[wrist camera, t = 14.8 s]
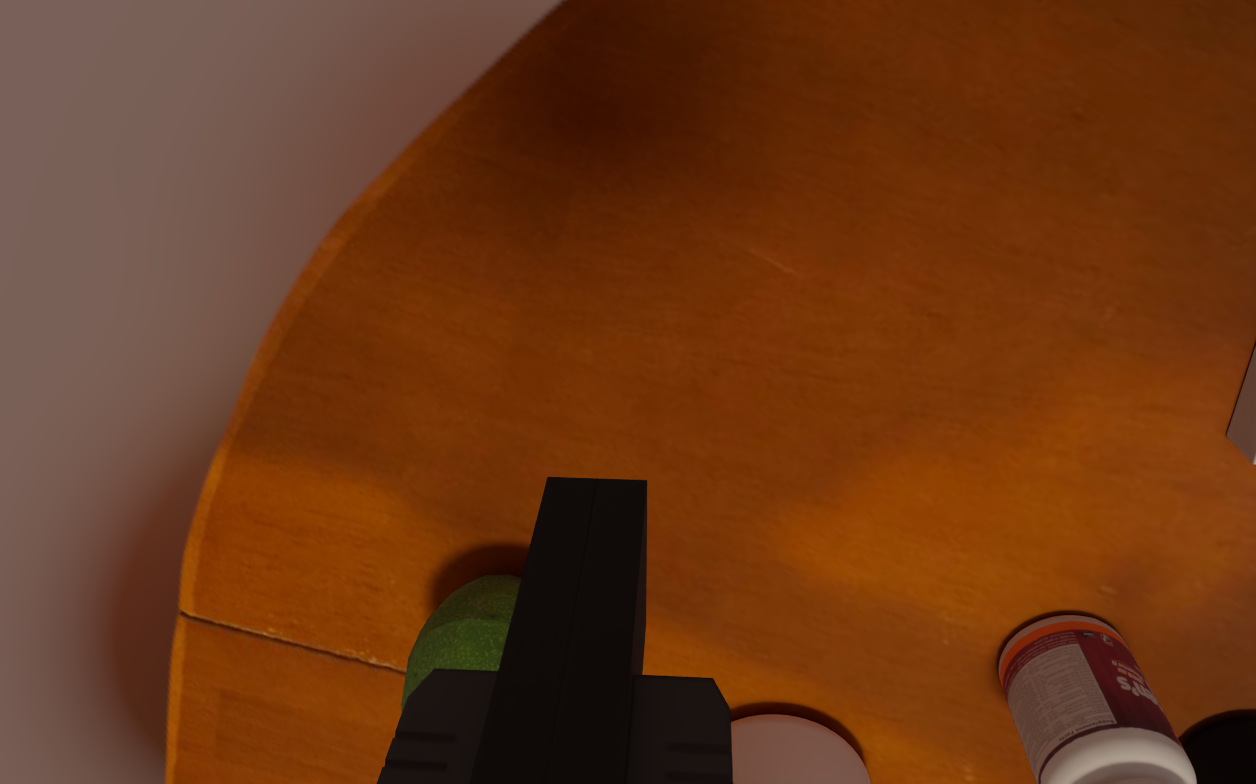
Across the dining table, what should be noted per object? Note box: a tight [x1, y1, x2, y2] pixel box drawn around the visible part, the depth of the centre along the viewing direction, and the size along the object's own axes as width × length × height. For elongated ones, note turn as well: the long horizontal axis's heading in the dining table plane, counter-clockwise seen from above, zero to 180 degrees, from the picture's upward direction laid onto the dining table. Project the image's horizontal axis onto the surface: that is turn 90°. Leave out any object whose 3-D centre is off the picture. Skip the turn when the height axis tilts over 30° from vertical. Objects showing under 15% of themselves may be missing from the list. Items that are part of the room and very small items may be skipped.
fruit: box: [402, 575, 522, 712], centre depth 44 cm, size 8×8×12 cm
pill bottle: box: [999, 615, 1197, 784], centre depth 44 cm, size 6×6×11 cm
